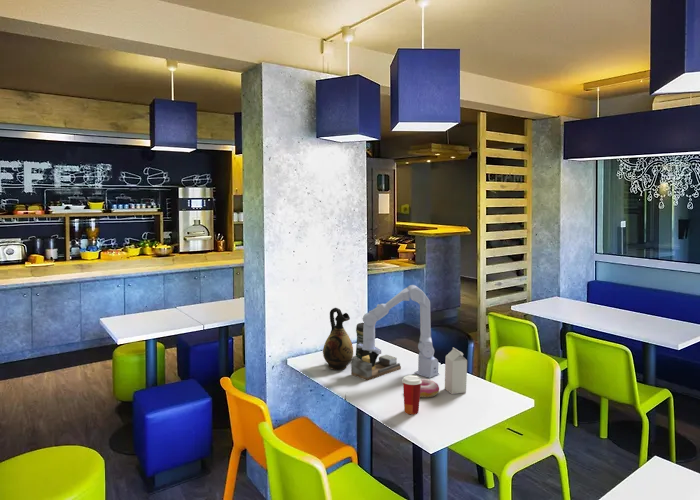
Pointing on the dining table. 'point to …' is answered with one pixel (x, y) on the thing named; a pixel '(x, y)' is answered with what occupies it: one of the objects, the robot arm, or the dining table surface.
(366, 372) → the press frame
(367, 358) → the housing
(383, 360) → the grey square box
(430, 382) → the donut
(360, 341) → the coffee jar
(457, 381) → the milk carton
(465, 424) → the dining table surface
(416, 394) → the paper cup
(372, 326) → the robot arm
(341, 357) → the ceramic jug
